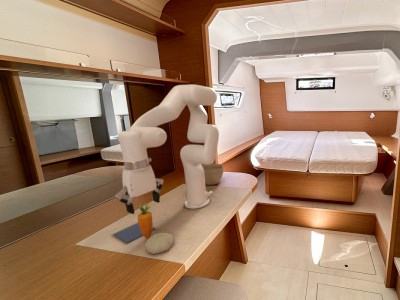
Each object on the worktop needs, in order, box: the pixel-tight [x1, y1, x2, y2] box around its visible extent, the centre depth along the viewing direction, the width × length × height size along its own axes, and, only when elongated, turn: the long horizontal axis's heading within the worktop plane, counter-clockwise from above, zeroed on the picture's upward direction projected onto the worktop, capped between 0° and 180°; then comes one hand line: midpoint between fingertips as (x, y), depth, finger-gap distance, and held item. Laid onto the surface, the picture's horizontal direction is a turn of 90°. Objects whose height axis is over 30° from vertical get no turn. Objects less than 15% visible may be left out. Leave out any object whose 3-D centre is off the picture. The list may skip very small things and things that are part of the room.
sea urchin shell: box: [144, 232, 174, 255], centre depth 80 cm, size 9×8×8 cm
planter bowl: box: [202, 163, 225, 186], centre depth 144 cm, size 16×16×11 cm
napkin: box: [113, 222, 156, 244], centre depth 90 cm, size 11×11×1 cm
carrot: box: [137, 202, 153, 240], centre depth 83 cm, size 5×5×15 cm
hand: (144, 207), depth 83 cm, fingers open, 9 cm apart
